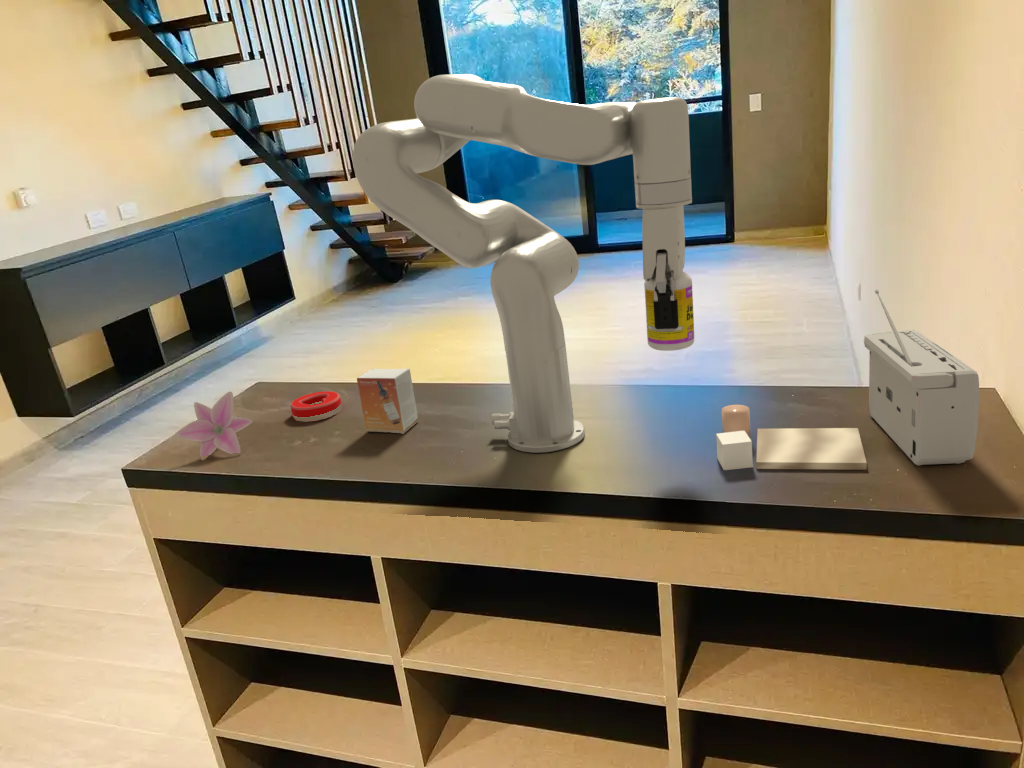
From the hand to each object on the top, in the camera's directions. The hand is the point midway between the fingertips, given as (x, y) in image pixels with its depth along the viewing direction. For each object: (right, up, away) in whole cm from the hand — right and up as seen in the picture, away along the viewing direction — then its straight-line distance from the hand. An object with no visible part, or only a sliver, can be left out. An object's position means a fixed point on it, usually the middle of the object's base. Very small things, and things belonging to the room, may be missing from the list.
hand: (669, 320), depth 116 cm
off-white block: (+9, -20, -1) cm, 22 cm away
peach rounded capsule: (+11, -18, +6) cm, 22 cm away
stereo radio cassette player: (+35, -17, -1) cm, 39 cm away
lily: (-75, -22, +30) cm, 83 cm away
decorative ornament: (-61, -15, +44) cm, 76 cm away
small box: (-44, -17, +30) cm, 56 cm away
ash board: (+20, -19, 0) cm, 27 cm away
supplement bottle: (0, -4, +1) cm, 4 cm away
